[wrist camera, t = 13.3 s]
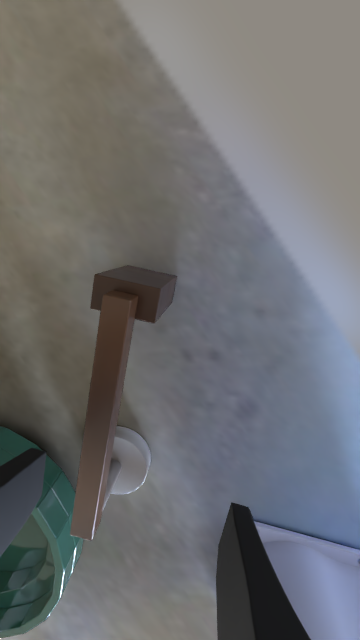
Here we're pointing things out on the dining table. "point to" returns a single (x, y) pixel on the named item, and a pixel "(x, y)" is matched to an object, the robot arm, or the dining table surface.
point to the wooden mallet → (114, 392)
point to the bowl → (37, 548)
